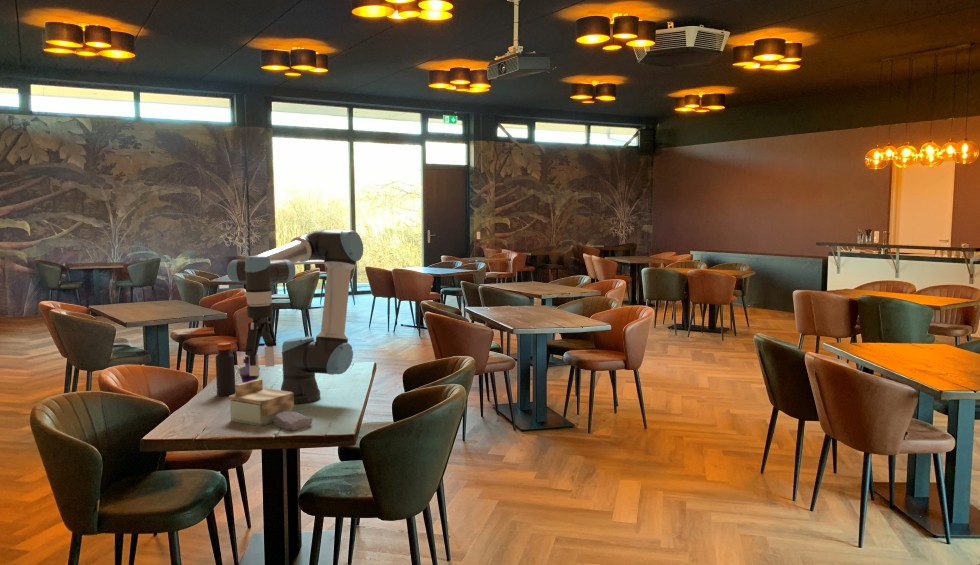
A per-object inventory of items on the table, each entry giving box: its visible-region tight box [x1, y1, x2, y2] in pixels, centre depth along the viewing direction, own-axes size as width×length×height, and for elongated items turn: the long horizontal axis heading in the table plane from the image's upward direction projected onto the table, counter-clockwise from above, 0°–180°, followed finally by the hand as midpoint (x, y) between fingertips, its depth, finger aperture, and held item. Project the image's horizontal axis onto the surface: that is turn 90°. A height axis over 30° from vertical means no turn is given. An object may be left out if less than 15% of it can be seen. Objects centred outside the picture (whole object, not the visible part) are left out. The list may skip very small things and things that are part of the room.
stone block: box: [273, 410, 313, 432], centre depth 234 cm, size 12×5×10 cm
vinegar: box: [215, 342, 236, 397], centre depth 277 cm, size 7×7×20 cm
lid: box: [228, 378, 295, 416], centre depth 242 cm, size 14×16×8 cm
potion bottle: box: [238, 355, 261, 383], centre depth 294 cm, size 9×9×12 cm
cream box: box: [229, 400, 293, 427], centre depth 243 cm, size 14×14×7 cm
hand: (262, 370), depth 228 cm, fingers open, 13 cm apart
